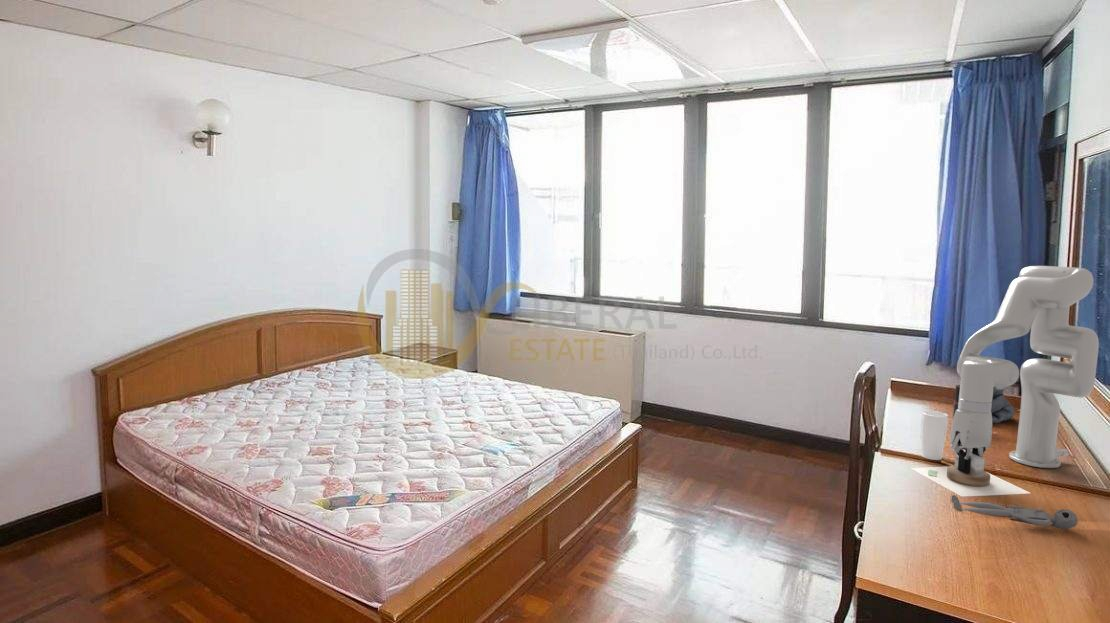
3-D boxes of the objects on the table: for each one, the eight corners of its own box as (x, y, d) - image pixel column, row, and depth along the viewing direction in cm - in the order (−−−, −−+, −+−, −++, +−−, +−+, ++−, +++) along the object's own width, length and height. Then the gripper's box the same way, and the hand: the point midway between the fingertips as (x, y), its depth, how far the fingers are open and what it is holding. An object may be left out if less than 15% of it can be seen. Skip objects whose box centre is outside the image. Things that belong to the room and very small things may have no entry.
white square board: (972, 470, 187) (972, 464, 187) (1030, 498, 167) (1031, 492, 167) (909, 473, 185) (909, 467, 184) (961, 502, 165) (962, 495, 165)
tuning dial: (998, 484, 172) (1001, 459, 171) (967, 487, 170) (970, 462, 169) (956, 465, 186) (958, 442, 185) (926, 468, 183) (928, 444, 183)
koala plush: (949, 410, 251) (953, 361, 249) (999, 412, 249) (1004, 363, 246) (971, 423, 234) (976, 371, 232) (1025, 426, 232) (1030, 373, 229)
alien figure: (950, 489, 163) (1073, 504, 153) (949, 508, 164) (1071, 524, 153) (954, 501, 156) (1083, 518, 146) (954, 520, 157) (1082, 538, 146)
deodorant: (971, 427, 229) (975, 386, 227) (971, 431, 224) (975, 389, 222) (952, 424, 232) (956, 384, 230) (952, 428, 227) (955, 387, 225)
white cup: (947, 466, 190) (952, 417, 188) (922, 464, 192) (927, 415, 190) (939, 458, 197) (943, 411, 195) (915, 456, 198) (919, 409, 196)
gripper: (984, 400, 179) (978, 463, 182) (939, 404, 174) (933, 469, 177) (1010, 407, 172) (1003, 473, 174) (964, 412, 167) (957, 479, 170)
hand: (968, 470), depth 176 cm, fingers closed on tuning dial, 2 cm apart
